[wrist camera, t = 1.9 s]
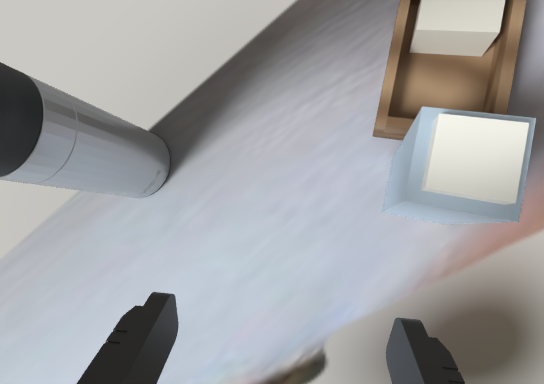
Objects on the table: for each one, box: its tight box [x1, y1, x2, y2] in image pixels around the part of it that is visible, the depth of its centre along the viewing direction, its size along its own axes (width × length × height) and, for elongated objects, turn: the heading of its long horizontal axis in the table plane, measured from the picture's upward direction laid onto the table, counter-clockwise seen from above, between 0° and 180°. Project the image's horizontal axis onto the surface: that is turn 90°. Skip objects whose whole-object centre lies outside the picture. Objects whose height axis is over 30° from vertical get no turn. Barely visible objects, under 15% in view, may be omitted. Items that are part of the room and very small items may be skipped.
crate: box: [373, 0, 527, 140], centre depth 31 cm, size 16×11×4 cm
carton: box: [382, 106, 536, 224], centre depth 24 cm, size 6×6×16 cm
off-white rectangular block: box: [409, 0, 505, 57], centre depth 30 cm, size 4×7×4 cm, turn 77°
